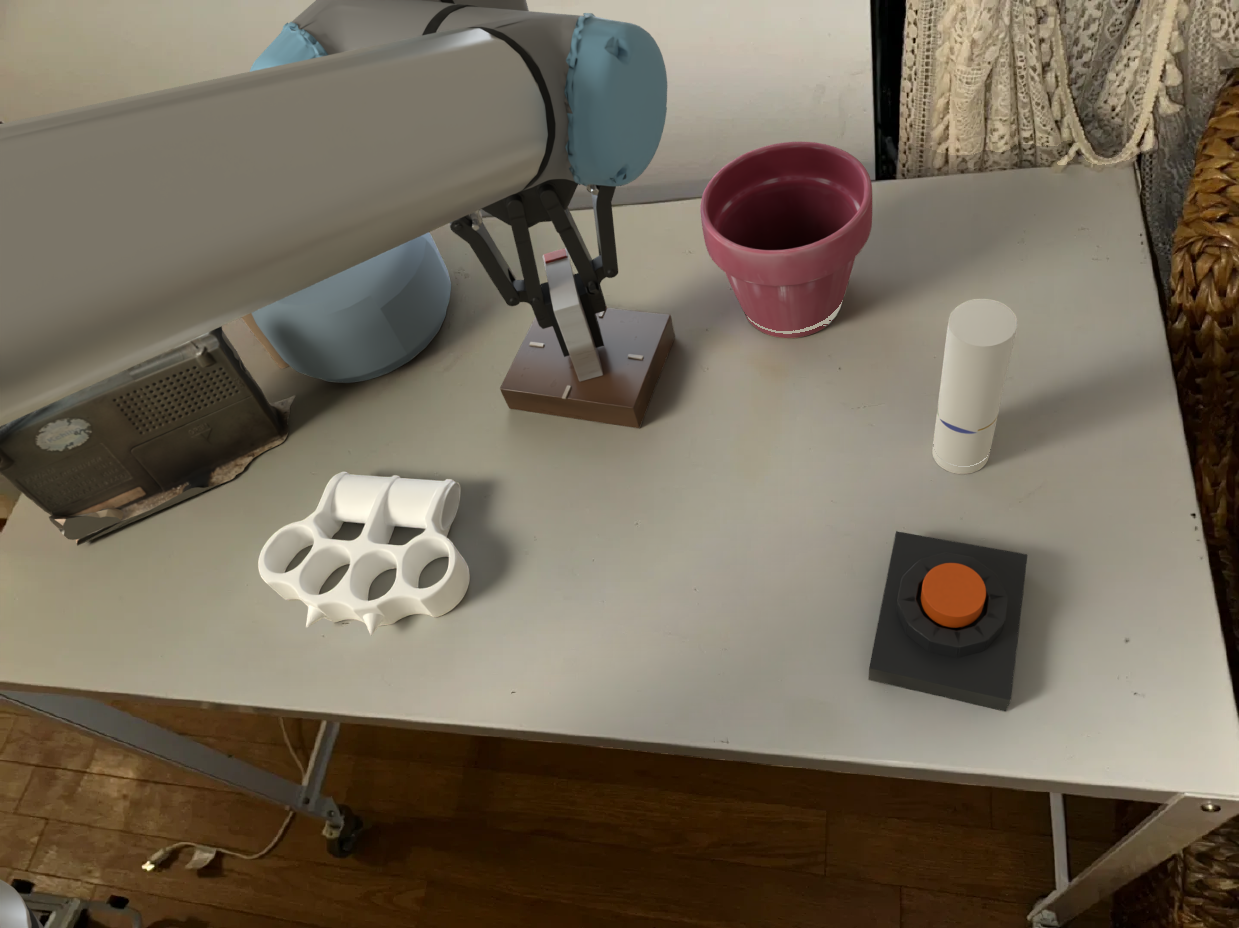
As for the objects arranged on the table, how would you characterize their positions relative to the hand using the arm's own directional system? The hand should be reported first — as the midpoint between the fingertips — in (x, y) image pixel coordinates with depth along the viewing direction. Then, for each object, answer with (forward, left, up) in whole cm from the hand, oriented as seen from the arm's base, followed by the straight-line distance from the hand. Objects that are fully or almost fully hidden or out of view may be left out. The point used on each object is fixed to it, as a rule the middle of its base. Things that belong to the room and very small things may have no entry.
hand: (581, 340), depth 82 cm
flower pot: (+11, -16, -5) cm, 20 cm away
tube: (-3, -33, -5) cm, 33 cm away
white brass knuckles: (-23, +12, -5) cm, 26 cm away
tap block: (0, 0, -4) cm, 4 cm away
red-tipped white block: (0, 0, -1) cm, 1 cm away
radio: (-18, +37, -5) cm, 41 cm away
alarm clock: (+3, +27, -5) cm, 28 cm away
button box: (-18, -34, -4) cm, 39 cm away
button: (-18, -34, -1) cm, 38 cm away
